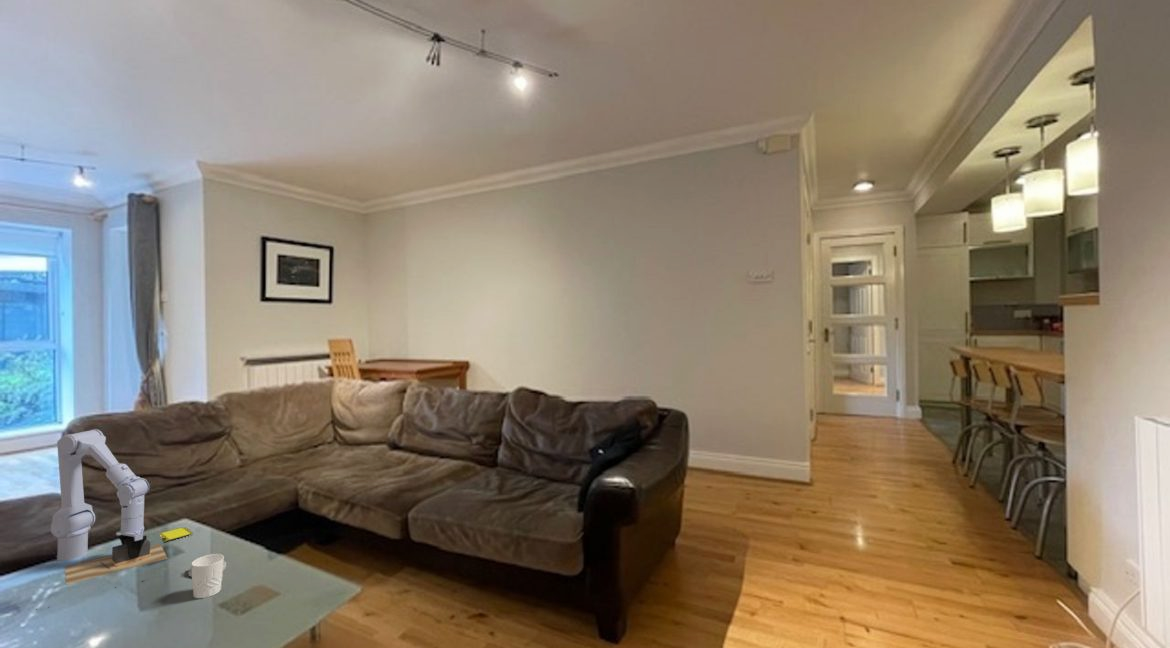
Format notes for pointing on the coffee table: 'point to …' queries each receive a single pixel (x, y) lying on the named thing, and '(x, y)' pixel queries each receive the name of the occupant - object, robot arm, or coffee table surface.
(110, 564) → the oak board
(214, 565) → the white cup
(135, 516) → the robot arm
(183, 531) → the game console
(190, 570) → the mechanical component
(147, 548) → the block
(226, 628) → the coffee table surface
